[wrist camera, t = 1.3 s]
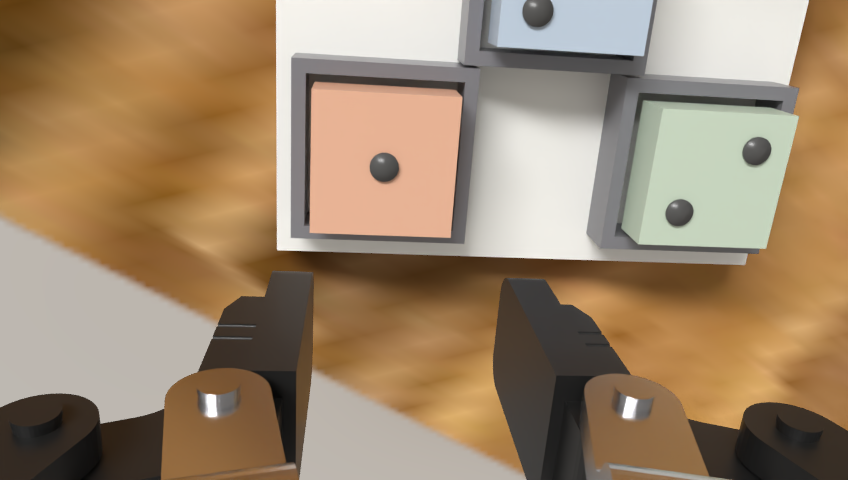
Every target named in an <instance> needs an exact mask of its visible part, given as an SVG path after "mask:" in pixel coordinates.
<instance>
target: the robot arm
mask: <svg viewBox="0 0 848 480" xmlns="http://www.w3.org/2000/svg"><path fill="white" fill-rule="evenodd" d="M313 291H314V278H313V272H289V271H273V272H272V275H271V278H270V281H269V285H268V288H267V291H266V294H265V297H249V296H241V297H240V298H239V299H237V300H236V301H234V302H233V303H232V304H230V305H229V306H227V307H226V308H225V309H224V311H223V313H222V315H221V318H220V320H219V323H218V327H216V330H215V332H214V335H213V339H212V340H211V342H210V345H209V347H208V349H207V352H206V354H205V356H204V359H203V361H202V364H201V366H200V368H199V371H198V372H197V373H194V374H191V375H189V376H187V377H184V378H183V379H181V380H179V381H178V382H177V383H175V384H174V385H173V386H172V387H171V388H170V389H169V390H168V392H167V394H166V397H165V406H164V409H162V410H160V411H158V412H155V413H152V414H148V415H145V416H140V417H136V418H131V419H125V420H120V421H114V422H108V423H103V424H100V417H99V411H98V408H97V406H96V405H95V404H94V403H93V402H92V401H90V400H88V399H86V398H84V397H81V396H77V395H71V394H45V395H38V396H33V397H28V398H24V399H21V400H18V401H15V402H12V403H9V404H7V405H5V406H3V407H1V408H0V480H299V475H300V467H301V460H302V451H303V443H304V435H305V427H306V419H307V410H308V402H309V394H310V386H311V375H312V354H313ZM493 375H494V383H495V387H496V390H497V393H498V396H499V399H500V402H501V405H502V408H503V411H504V414H505V417H506V420H507V423H508V426H509V429H510V432H511V435H512V438H513V441H514V444H515V447H516V449H517V452H518V455H519V458H520V461H521V464H522V467H523V470H524V473H525V476H526V479H527V480H848V431H847V430H845V429H844V428H842V427H840V426H839V425H837V424H835V423H834V422H832V421H830V420H828V419H827V418H825V417H823V416H821V415H819V414H816V413H814V412H812V411H809V410H806V409H804V408H800V407H797V406H793V405H788V404H783V403H772V402H766V403H758V404H754V405H751V406H750V407H748V408H747V409H746V410H745V412H744V414H743V418H742V422H741V426H740V430H738V429H733V428H728V427H723V426H717V425H712V424H707V423H702V422H698V421H694V420H690V419H687V417H686V414H685V411H684V409H683V406H682V404H681V402H680V400H679V399H678V398H677V397H676V396H675V395H674V394H673V393H672V392H671V391H669V390H668V389H666V388H665V387H663V386H661V385H660V384H658V383H655V382H653V381H651V380H648V379H645V378H642V377H638V376H633V375H631V374H630V373H629V371H628V370H627V368H626V367H625V365H624V364H623V362H622V361H621V360H620V358H619V357H618V355H617V354H616V352H615V351H614V349H613V348H612V347H610V344H609V342H608V341H607V339H606V338H605V336H604V335H601V331H600V329H599V328H598V326H597V325H596V323H595V322H594V321H593V319H592V318H591V317H590V316H588V315H587V314H585V313H584V312H582V311H581V310H579V309H577V308H576V307H574V306H573V305H561V304H560V303H559V301H558V300H557V298H556V296H555V295H554V293H553V292H552V290H551V288H550V287H549V285H548V284H547V282H546V281H545V280H544V279H522V278H505V279H504V281H503V283H502V287H501V293H500V301H499V310H498V319H497V328H496V336H495V345H494V354H493Z"/></svg>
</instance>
